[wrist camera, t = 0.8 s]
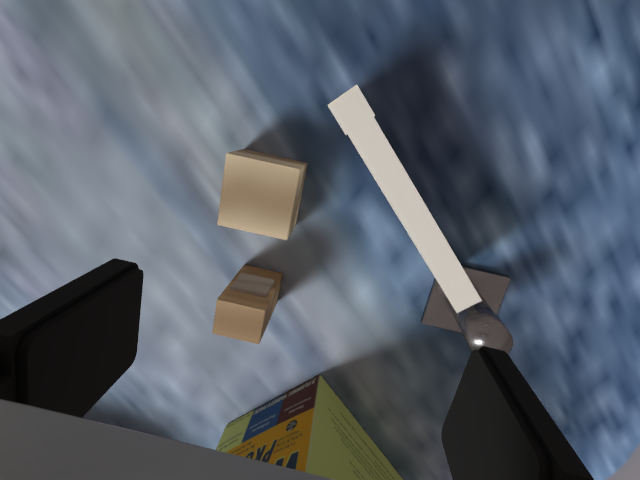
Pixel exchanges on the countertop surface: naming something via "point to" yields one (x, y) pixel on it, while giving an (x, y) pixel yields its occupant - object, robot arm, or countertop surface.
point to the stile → (247, 304)
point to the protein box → (308, 436)
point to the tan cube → (261, 193)
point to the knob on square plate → (473, 311)
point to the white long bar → (403, 196)
